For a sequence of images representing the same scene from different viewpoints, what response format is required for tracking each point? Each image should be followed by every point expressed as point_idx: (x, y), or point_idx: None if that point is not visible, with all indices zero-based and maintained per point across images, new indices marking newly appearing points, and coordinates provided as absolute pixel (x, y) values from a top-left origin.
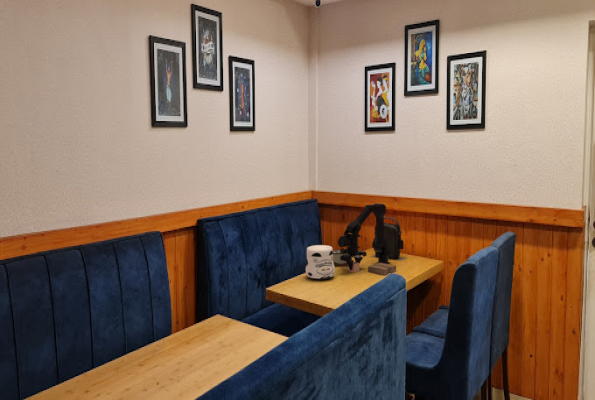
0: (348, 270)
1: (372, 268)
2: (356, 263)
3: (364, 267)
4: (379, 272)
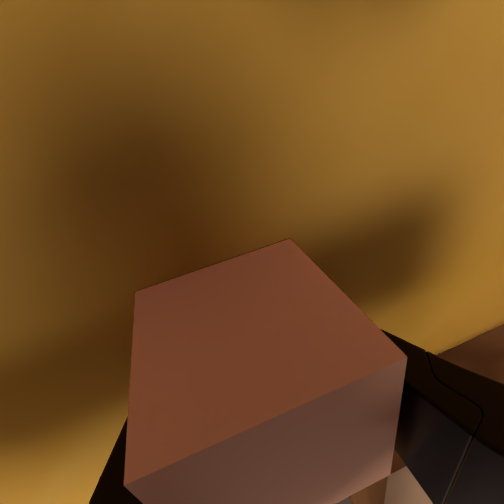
0: (138, 311)
1: (373, 489)
2: (324, 498)
3: (476, 222)
4: (356, 493)
